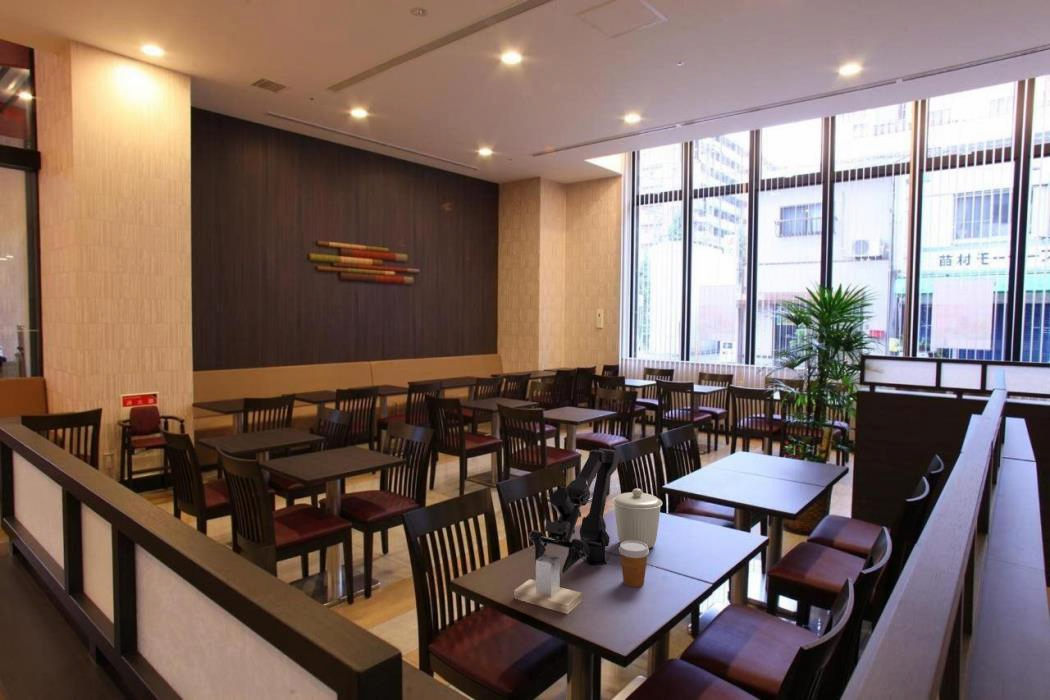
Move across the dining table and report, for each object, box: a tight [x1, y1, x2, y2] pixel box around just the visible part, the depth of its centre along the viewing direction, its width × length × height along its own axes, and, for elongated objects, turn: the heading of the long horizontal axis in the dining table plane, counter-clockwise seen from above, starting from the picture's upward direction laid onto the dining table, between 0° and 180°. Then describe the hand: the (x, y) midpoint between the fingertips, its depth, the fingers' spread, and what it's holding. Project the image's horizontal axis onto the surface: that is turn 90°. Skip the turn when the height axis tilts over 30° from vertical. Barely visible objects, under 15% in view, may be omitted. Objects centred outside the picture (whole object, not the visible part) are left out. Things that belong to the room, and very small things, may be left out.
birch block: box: [513, 578, 583, 615], centre depth 177 cm, size 18×9×6 cm, turn 58°
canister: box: [612, 488, 663, 549], centre depth 220 cm, size 18×18×21 cm
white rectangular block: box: [535, 553, 561, 597], centre depth 177 cm, size 5×5×10 cm
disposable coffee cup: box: [618, 541, 650, 588], centre depth 188 cm, size 10×10×12 cm
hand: (549, 569), depth 178 cm, fingers open, 9 cm apart
